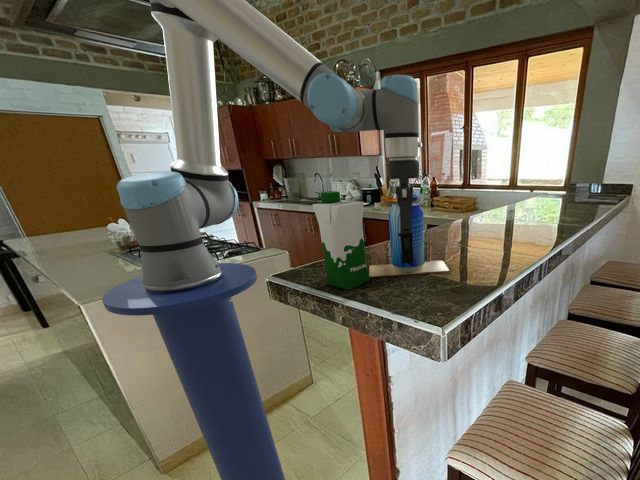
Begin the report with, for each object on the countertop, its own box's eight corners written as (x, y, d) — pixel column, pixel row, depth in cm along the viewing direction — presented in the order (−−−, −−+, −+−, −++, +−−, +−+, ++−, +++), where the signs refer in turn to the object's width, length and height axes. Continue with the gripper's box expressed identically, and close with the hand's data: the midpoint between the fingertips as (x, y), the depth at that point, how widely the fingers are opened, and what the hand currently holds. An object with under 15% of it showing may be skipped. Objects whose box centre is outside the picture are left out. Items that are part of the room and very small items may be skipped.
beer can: (405, 261, 92) (402, 200, 85) (430, 266, 87) (430, 202, 80) (385, 269, 86) (380, 204, 79) (411, 275, 81) (409, 206, 74)
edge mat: (369, 277, 81) (369, 276, 81) (369, 266, 89) (369, 265, 89) (449, 271, 84) (449, 270, 84) (442, 261, 92) (442, 260, 92)
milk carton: (347, 274, 84) (336, 190, 75) (375, 280, 79) (367, 191, 71) (321, 285, 77) (306, 194, 69) (350, 292, 73) (338, 195, 64)
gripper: (421, 159, 66) (424, 269, 76) (418, 158, 85) (420, 246, 95) (383, 160, 66) (391, 270, 76) (388, 159, 85) (394, 247, 95)
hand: (407, 257), depth 85 cm, fingers closed on beer can, 8 cm apart
